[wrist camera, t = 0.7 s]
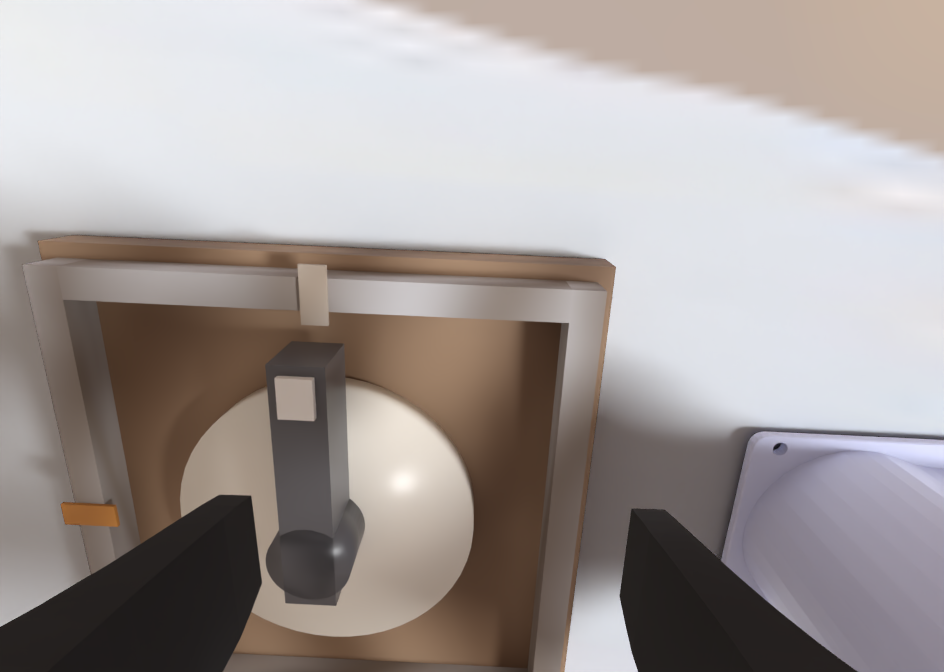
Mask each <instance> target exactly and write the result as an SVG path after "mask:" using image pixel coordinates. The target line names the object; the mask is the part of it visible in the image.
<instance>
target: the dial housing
mask: <svg viewBox="0 0 944 672" xmlns="http://www.w3.org/2000/svg"><path fill="white" fill-rule="evenodd" d="M38 245H39V249H40V254H41V259H42V261H37V262H32V263H27V264H23V265H22V268H23V272H24V276H25V281H26V285H27V290H28V294H29V299H30V303H31V308H32V312H33V317H34V321H35V326H36V330H37V335H38V339H39V344H40V348H41V353H42V357H43V362H44V366H45V370H46V375H47V379H48V384H49V388H50V393H51V397H52V402H53V406H54V411H55V415H56V420H57V424H58V429H59V433H60V438H61V442H62V447H63V451H64V456H65V460H66V465H67V469H68V473H69V478H70V482H71V487H72V491H73V496H74V500H75V503H71V502H63V503H61V508H62V513H63V517H64V521H65V524H69V525H80V527H81V532H82V536H83V541H84V545H85V550H86V554H87V559H88V563H89V567H90V572H91V574H93V573H95V572H96V571H98V570H100V569H101V568H103V567H105V566H107V565H108V564H110V563H111V562H113V561H115V560H116V559H118V558H119V557H121V556H122V555H124V554H126V553H127V552H129V551H130V550H132V549H133V548H135V547H136V546H138V545H140V544H141V543H143V542H144V541H146V540H147V539H149V538H151V537H152V536H154V535H155V534H157V533H158V532H160V531H162V530H163V529H165V528H166V527H168V526H169V525H171V524H172V523H174V522H175V521H177V520H179V519H180V518H182V517H181V506H180V493H181V483H182V479H183V474H184V470H185V467H186V464H187V462H188V460H189V457H190V455H191V453H192V451H193V449H194V448H195V446H196V445H197V443H198V442H199V440H200V438H201V437H202V436H203V435H204V434H205V433H206V432H207V430H208V429H209V428H210V427H211V426H212V425H213V424H214V423H215V422H216V421H217V420H218V419H219V418H220V417H221V416H222V415H223V414H225V413H226V412H227V411H228V410H229V409H230V408H231V407H233V406H234V405H235V404H236V403H238V402H239V401H240V400H241V399H243V398H245V397H246V396H248V395H250V394H251V393H253V392H255V391H257V390H259V389H261V388H264V387H266V386H267V381H266V369H265V364H266V363H268V362H269V361H270V360H271V359H272V358H273V357H274V356H275V355H277V354H278V353H279V352H280V351H281V350H282V349H283V348H284V347H286V346H287V345H288V344H289V343H290V342H291V341H299V342H320V343H342V344H344V353H345V378H351V379H355V380H360V381H364V382H368V383H371V384H374V385H377V386H380V387H382V388H385V389H388V390H390V391H392V392H394V393H396V394H398V395H400V396H402V397H404V398H405V399H407V400H408V401H410V402H412V403H413V404H415V405H416V406H418V407H419V408H421V409H422V410H423V411H424V412H425V413H426V414H428V415H429V416H430V417H431V418H432V419H434V420H435V421H436V422H437V423H438V425H439V426H440V427H441V428H442V429H443V430H444V431H445V432H446V433H447V435H448V436H449V437H450V439H451V440H452V442H453V443H454V445H455V446H456V448H457V449H458V451H459V453H460V455H461V457H462V459H463V461H464V463H465V465H466V468H467V471H468V474H469V477H470V480H471V485H472V490H473V496H474V529H473V538H472V545H471V549H470V552H469V556H468V559H467V562H466V564H465V566H464V568H463V571H462V573H461V575H460V576H459V578H458V579H457V581H456V582H455V584H454V585H453V587H452V588H451V589H450V590H449V592H448V593H447V594H446V595H445V596H444V597H443V598H442V599H441V600H440V601H439V602H438V603H437V604H435V605H434V606H433V607H432V608H431V609H430V610H428V611H427V612H425V613H423V614H422V615H420V616H419V617H417V618H416V619H414V620H412V621H409V622H407V623H405V624H403V625H401V626H398V627H395V628H392V629H389V630H386V631H383V632H378V633H374V634H369V635H361V636H351V637H332V636H322V635H314V634H309V633H304V632H299V631H295V630H292V629H289V628H286V627H282V626H279V625H277V624H275V623H272V622H270V621H268V620H265V619H263V618H261V617H260V616H258V615H256V614H254V613H252V612H251V614H250V616H249V619H248V621H247V624H246V626H245V628H244V631H243V633H242V636H241V638H240V640H239V642H238V644H237V646H236V648H235V650H234V652H233V653H232V655H231V657H230V659H229V661H228V663H227V665H226V667H225V669H224V670H223V672H564V670H565V662H566V654H567V646H568V638H569V631H570V623H571V615H572V607H573V599H574V591H575V584H576V576H577V568H578V560H579V552H580V544H581V537H582V529H583V521H584V513H585V505H586V497H587V489H588V482H589V474H590V466H591V458H592V450H593V442H594V435H595V427H596V419H597V411H598V403H599V395H600V388H601V380H602V372H603V364H604V356H605V348H606V341H607V333H608V325H609V317H610V309H611V301H612V293H613V286H614V278H615V270H616V267H615V266H614V265H612V264H611V263H610V262H608V261H607V260H605V259H591V258H569V257H547V256H524V255H502V254H480V253H458V252H436V251H414V250H392V249H370V248H348V247H326V246H304V245H282V244H260V243H238V242H216V241H194V240H172V239H150V238H128V237H106V236H84V235H71V236H65V237H58V238H52V239H46V240H39V241H38Z"/></svg>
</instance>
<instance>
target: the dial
mask: <svg viewBox="0 0 944 672" xmlns="http://www.w3.org/2000/svg"><path fill="white" fill-rule="evenodd" d="M265 369H266V381H267V386H266V387H264V388H261V389H259V390H257V391H255V392H253V393H251V394H250V395H248V396H246V397H245V398H243V399H241V400H240V401H239V402H238V403H236V404H235V405H234V406H233V407H231V408H230V409H229V410H228V411H227V412H226V413H225V414H223V415H222V416H221V417H220V418H219V419H218V420H217V421H216V422H215V423H214V424H213V425H212V426H211V427H210V428H209V429H208V430H207V432H206V433H205V434H204V435H203V436H202V437H201V438H200V440H199V442H198V443H197V445H196V446H195V448H194V449H193V451H192V453H191V455H190V457H189V460H188V462H187V464H186V467H185V470H184V474H183V479H182V483H181V493H180V506H181V517H183V516H185V515H186V514H188V513H190V512H191V511H193V510H194V509H196V508H197V507H199V506H201V505H202V504H204V503H206V502H207V501H209V500H211V499H213V498H214V497H216V496H218V495H248V496H251V497H252V505H253V513H254V521H255V529H256V538H257V546H258V554H259V562H260V570H261V578H262V585H261V587H260V590H259V593H258V595H257V598H256V601H255V603H254V606H253V609H252V611H251V612H252V613H254V614H256V615H258V616H260V617H261V618H263V619H265V620H268V621H270V622H272V623H275V624H277V625H279V626H282V627H286V628H289V629H292V630H295V631H299V632H304V633H309V634H314V635H322V636H332V637H351V636H361V635H369V634H374V633H378V632H383V631H386V630H389V629H392V628H395V627H398V626H401V625H403V624H405V623H407V622H409V621H412V620H414V619H416V618H417V617H419V616H420V615H422V614H423V613H425V612H427V611H428V610H430V609H431V608H432V607H433V606H434V605H435V604H437V603H438V602H439V601H440V600H441V599H442V598H443V597H444V596H445V595H446V594H447V593H448V592H449V590H450V589H451V588H452V587H453V585H454V584H455V582H456V581H457V579H458V578H459V576H460V575H461V573H462V571H463V568H464V566H465V564H466V562H467V559H468V556H469V552H470V549H471V545H472V538H473V529H474V496H473V490H472V485H471V480H470V477H469V474H468V471H467V468H466V465H465V463H464V461H463V459H462V457H461V455H460V453H459V451H458V449H457V448H456V446H455V445H454V443H453V442H452V440H451V439H450V437H449V436H448V435H447V433H446V432H445V431H444V430H443V429H442V428H441V427H440V426H439V425H438V423H437V422H436V421H435V420H434V419H432V418H431V417H430V416H429V415H428V414H426V413H425V412H424V411H423V410H422V409H421V408H419V407H418V406H416V405H415V404H413V403H412V402H410V401H408V400H407V399H405V398H404V397H402V396H400V395H398V394H396V393H394V392H392V391H390V390H388V389H385V388H382V387H380V386H377V385H374V384H371V383H368V382H364V381H360V380H355V379H351V378H345V353H344V344H342V343H320V342H299V341H291V342H290V343H289V344H288V345H287V346H286V347H284V348H283V349H282V350H281V351H280V352H279V353H278V354H277V355H275V356H274V357H273V358H272V359H271V360H270V361H269V362H268V363H266V364H265Z"/></svg>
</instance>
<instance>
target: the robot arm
mask: <svg viewBox="0 0 944 672" xmlns="http://www.w3.org/2000/svg"><path fill="white" fill-rule="evenodd" d="M777 443H782V444H781V446H780V447H779V448H778V449H775V450H773V447H774V446H775V445H776V444H777ZM261 585H262V578H261V570H260V562H259V554H258V546H257V538H256V529H255V521H254V513H253V505H252V497H251V496H248V495H218V496H216V497H214V498H213V499H211V500H209V501H207V502H206V503H204V504H202V505H201V506H199V507H197V508H196V509H194V510H193V511H191V512H190V513H188V514H186V515H185V516H183V517H182V518H180V519H179V520H177V521H175V522H174V523H172V524H171V525H169V526H168V527H166V528H165V529H163V530H162V531H160V532H158V533H157V534H155V535H154V536H152V537H151V538H149V539H147V540H146V541H144V542H143V543H141V544H140V545H138V546H136V547H135V548H133V549H132V550H130V551H129V552H127V553H126V554H124V555H122V556H121V557H119V558H118V559H116V560H115V561H113V562H111V563H110V564H108V565H107V566H105V567H103V568H101V569H100V570H98V571H96V572H95V573H93V574H91V575H90V576H88V577H86V578H85V579H83V580H81V581H80V582H78V583H76V584H75V585H73V586H71V587H70V588H68V589H66V590H64V591H63V592H61V593H59V594H58V595H56V596H54V597H53V598H51V599H49V600H48V601H46V602H44V603H43V604H41V605H39V606H37V607H36V608H34V609H32V610H30V611H29V612H27V613H25V614H23V615H21V616H20V617H18V618H16V619H14V620H12V621H10V622H9V623H7V624H5V625H3V626H1V627H0V672H223V670H224V669H225V667H226V665H227V663H228V661H229V659H230V657H231V655H232V653H233V652H234V650H235V648H236V646H237V644H238V642H239V640H240V638H241V636H242V633H243V631H244V628H245V626H246V624H247V621H248V619H249V616H250V614H251V611H252V609H253V606H254V603H255V601H256V598H257V595H258V593H259V590H260V587H261ZM620 600H621V605H622V610H623V615H624V619H625V624H626V629H627V633H628V637H629V642H630V646H631V650H632V654H633V657H634V660H635V663H636V666H637V669H638V672H944V440H934V439H913V438H891V437H870V436H849V435H828V434H807V433H786V432H765V431H764V432H758V433H756V434H754V435H753V436H752V437H751V438H750V439H749V442H748V445H747V449H746V453H745V458H744V462H743V466H742V471H741V475H740V479H739V484H738V488H737V492H736V497H735V501H734V506H733V510H732V514H731V519H730V523H729V527H728V532H727V536H726V540H725V545H724V549H723V553H722V558H721V560H719V559H718V558H717V557H716V556H715V555H714V554H713V553H712V552H711V551H710V550H708V549H707V548H706V547H705V546H704V545H703V544H702V543H701V542H700V541H699V540H698V539H696V538H695V537H694V536H693V535H692V534H691V533H690V532H689V531H688V530H687V529H686V528H685V527H683V526H682V525H681V524H680V523H679V522H678V521H677V520H676V519H675V518H673V517H672V516H671V515H670V514H669V513H668V512H666V511H665V510H657V509H632V510H631V517H630V524H629V532H628V539H627V546H626V554H625V561H624V568H623V576H622V583H621V590H620Z"/></svg>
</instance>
